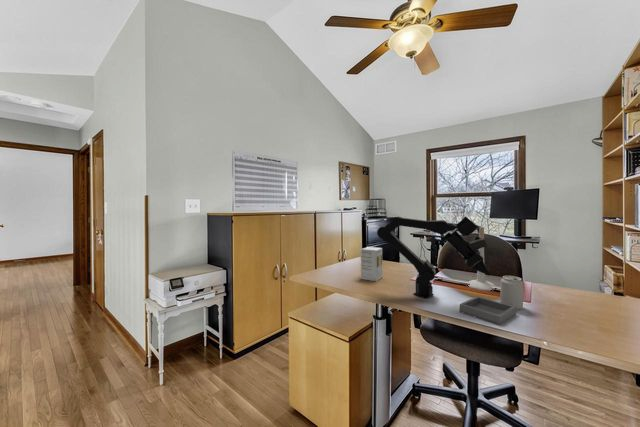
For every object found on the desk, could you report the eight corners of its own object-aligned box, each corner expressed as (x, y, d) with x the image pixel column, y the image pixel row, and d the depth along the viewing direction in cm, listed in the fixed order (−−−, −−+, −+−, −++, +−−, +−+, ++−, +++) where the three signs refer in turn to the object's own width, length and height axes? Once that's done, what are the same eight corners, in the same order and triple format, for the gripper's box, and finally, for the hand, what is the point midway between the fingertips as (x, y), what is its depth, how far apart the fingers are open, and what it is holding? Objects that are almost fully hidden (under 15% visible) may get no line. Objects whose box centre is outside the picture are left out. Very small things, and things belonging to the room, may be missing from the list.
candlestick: (461, 282, 140) (462, 225, 139) (486, 282, 140) (487, 224, 138) (474, 290, 127) (475, 227, 126) (502, 290, 127) (503, 227, 125)
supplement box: (376, 281, 144) (376, 250, 143) (360, 279, 149) (360, 249, 148) (382, 277, 152) (382, 247, 151) (367, 275, 157) (367, 246, 156)
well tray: (459, 311, 104) (459, 304, 104) (476, 303, 112) (476, 296, 112) (500, 325, 93) (500, 316, 93) (516, 314, 101) (516, 306, 101)
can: (527, 311, 104) (527, 280, 103) (505, 309, 105) (505, 279, 105) (517, 303, 111) (517, 275, 111) (496, 302, 113) (497, 274, 112)
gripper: (476, 233, 104) (510, 264, 100) (473, 228, 121) (501, 255, 117) (453, 252, 108) (484, 282, 104) (453, 244, 125) (479, 270, 121)
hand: (488, 271), depth 111 cm, fingers open, 9 cm apart
